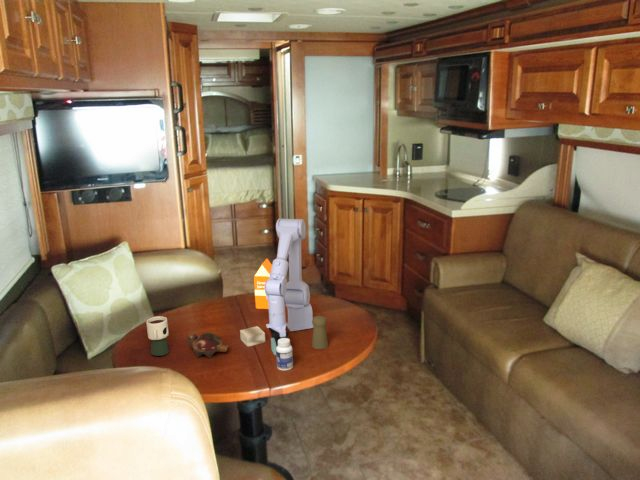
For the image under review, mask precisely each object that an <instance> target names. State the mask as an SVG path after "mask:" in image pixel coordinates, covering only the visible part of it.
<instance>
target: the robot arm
mask: <svg viewBox="0 0 640 480" xmlns="http://www.w3.org/2000/svg"><path fill="white" fill-rule="evenodd" d="M306 228H307V227H306V221H305V220H304V219H303V218H282V217H279V218H278V219H277V220H276V223H275V231H276V235H277V238H278V245H277V252H276V253H277V254H276V258H275V259H273V260H272V263H271V264H272V268H271V272H270V277H269V279H268V280H267V281H266V283H265V294H266V299H267V300H268V307H269V309H268V322H269V323H266V325H265V326H266V328H267V329H268V330H269V332H270V335H271V338H274V339H275V342H276V347H277V346H278V340H279V339H281V338H288V337H289V332H295V331H301V330H306V329H307V330H308V329H314V326H313V324H312V319H313V318H314V315H313V313H314V312H313V308H312V304H311V303H310V300H311V293H310V286H309V285H308V283H306V282H305V281H304V280H303V278H302V273H303V272H302V240H304V239H306V236H307V235H306V230H307V229H306ZM287 260H288V261H287ZM287 275H288V280H287ZM286 307H287V318H286ZM286 320H287V321H286ZM286 329H288V330H289V332H288V331H286Z"/></svg>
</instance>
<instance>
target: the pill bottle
mask: <svg viewBox="0 0 640 480" xmlns="http://www.w3.org/2000/svg"><path fill="white" fill-rule="evenodd" d="M275 356H276V368H277V369H278V370H279V371H282V372H283V371H284V372H285V371H290V370H292V368H294V358H293V346H292V345H291V339H290V338H288V337H287V338H281V339H279V340H278V346H277V347H276V355H275Z"/></svg>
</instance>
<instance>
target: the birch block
mask: <svg viewBox="0 0 640 480" xmlns="http://www.w3.org/2000/svg"><path fill="white" fill-rule="evenodd" d="M239 334H240V341H242V342H243V344H244V345H245V346H246V347H253V346H256V345H259V344H263V343H264V344H265V343H266V333H265V332H264V331H263V329H261V328H260V327H259V326H257V325H256V326H252V327H248V328H244V329H240V330H239Z"/></svg>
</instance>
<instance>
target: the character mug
mask: <svg viewBox="0 0 640 480" xmlns="http://www.w3.org/2000/svg"><path fill="white" fill-rule="evenodd" d="M145 322H146V331H147V338H148V339H149V340H151V342H150V354H151V355H152V356H156V357H159V356H166V355H167V354H169V353H170V346H169V343H168V339H167V337H169V336H170V335H169V324H168V323H169V322H168V318H167V316H163V315H158V316H153V317H150V318H148V319H147V320H146V321H145Z"/></svg>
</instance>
